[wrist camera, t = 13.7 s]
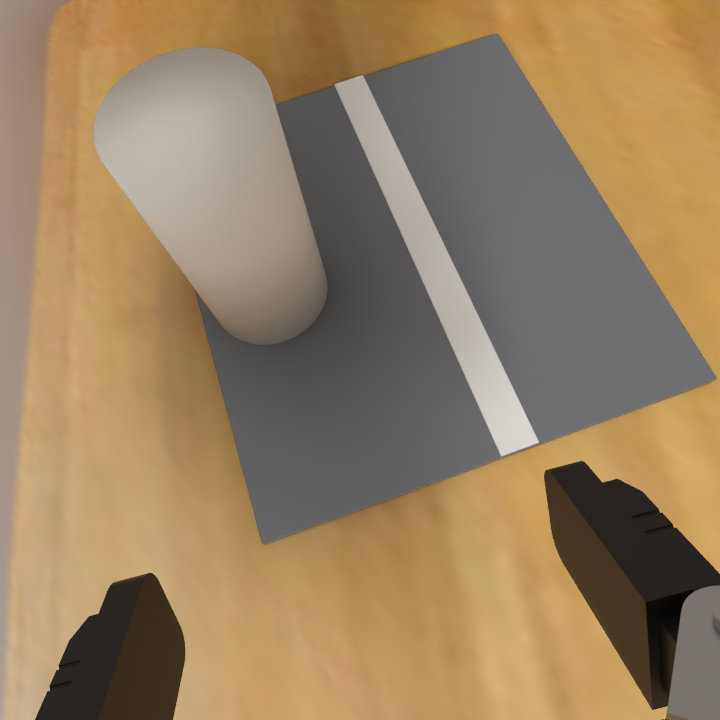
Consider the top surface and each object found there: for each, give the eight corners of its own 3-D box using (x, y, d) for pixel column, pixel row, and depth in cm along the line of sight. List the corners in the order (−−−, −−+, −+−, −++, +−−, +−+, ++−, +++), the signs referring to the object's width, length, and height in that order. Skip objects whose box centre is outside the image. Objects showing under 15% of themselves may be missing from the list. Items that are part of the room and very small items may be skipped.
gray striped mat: (496, 41, 31) (498, 31, 30) (710, 382, 23) (718, 377, 22) (160, 150, 30) (155, 141, 29) (265, 544, 22) (261, 542, 21)
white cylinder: (305, 225, 27) (243, 25, 17) (344, 318, 25) (296, 148, 15) (199, 265, 26) (79, 83, 17) (230, 362, 24) (113, 216, 15)
